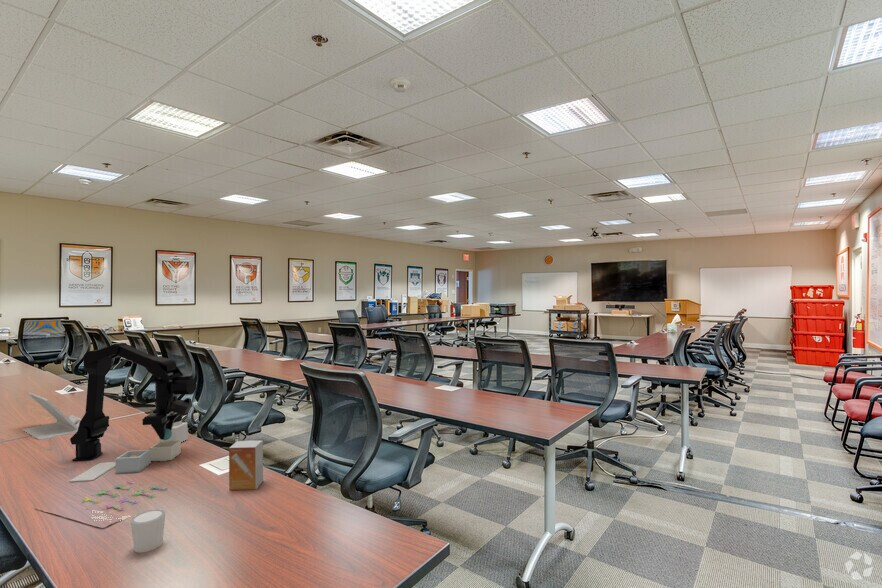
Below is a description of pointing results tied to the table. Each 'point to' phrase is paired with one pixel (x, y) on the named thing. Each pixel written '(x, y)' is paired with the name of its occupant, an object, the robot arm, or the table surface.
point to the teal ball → (167, 434)
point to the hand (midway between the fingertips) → (165, 437)
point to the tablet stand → (54, 429)
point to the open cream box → (165, 450)
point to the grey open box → (133, 461)
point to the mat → (94, 472)
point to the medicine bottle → (178, 430)
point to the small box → (245, 465)
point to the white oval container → (148, 530)
